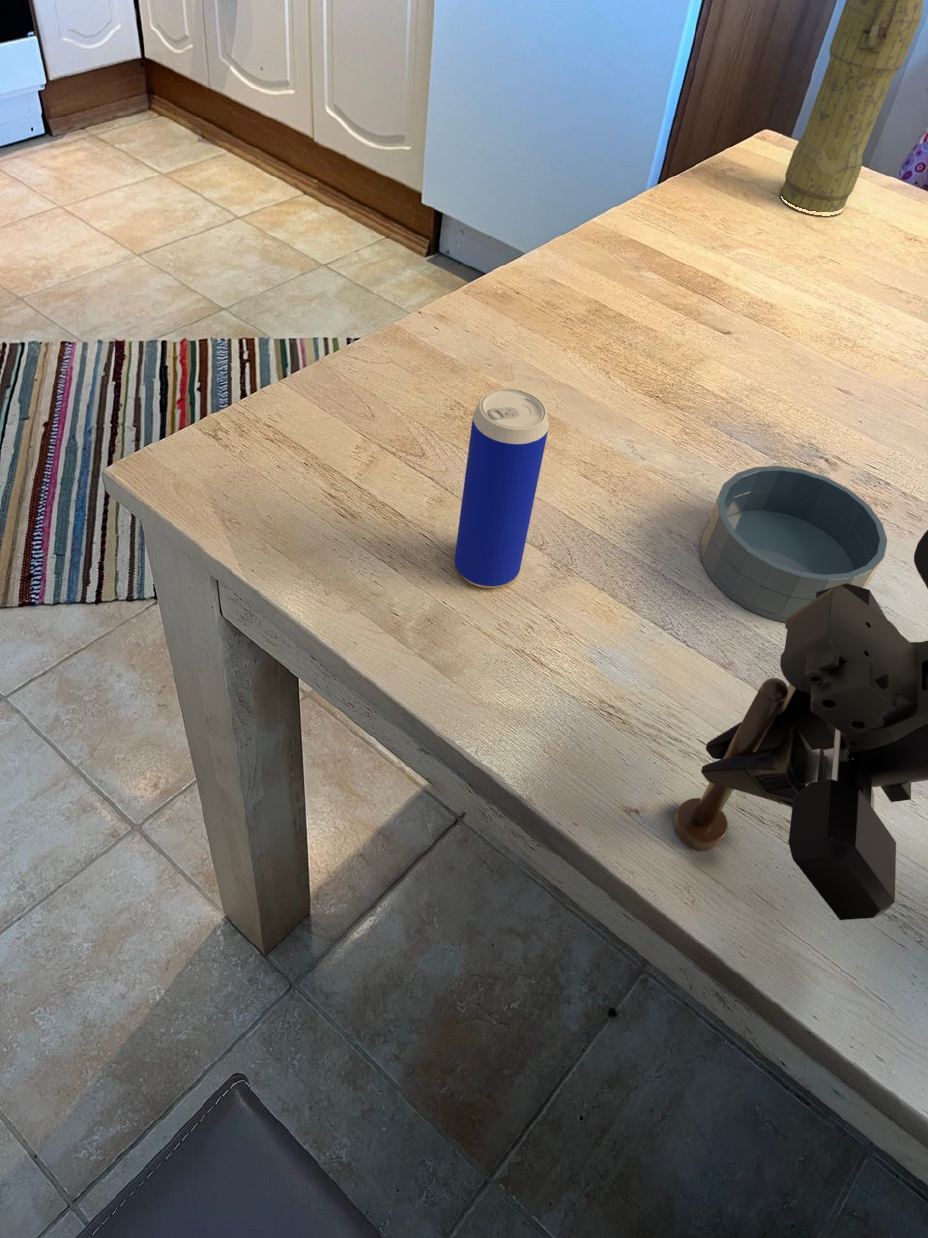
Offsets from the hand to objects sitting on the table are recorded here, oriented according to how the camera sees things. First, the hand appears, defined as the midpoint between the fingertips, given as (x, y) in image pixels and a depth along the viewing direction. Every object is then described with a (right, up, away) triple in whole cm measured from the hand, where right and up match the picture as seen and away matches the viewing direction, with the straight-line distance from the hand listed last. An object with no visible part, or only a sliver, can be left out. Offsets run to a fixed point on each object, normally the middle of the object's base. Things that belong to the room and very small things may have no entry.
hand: (706, 762), depth 55 cm
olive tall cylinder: (+33, +65, +73) cm, 103 cm away
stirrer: (+1, -5, +5) cm, 7 cm away
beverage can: (-13, +12, +19) cm, 26 cm away
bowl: (+12, +13, +22) cm, 28 cm away
